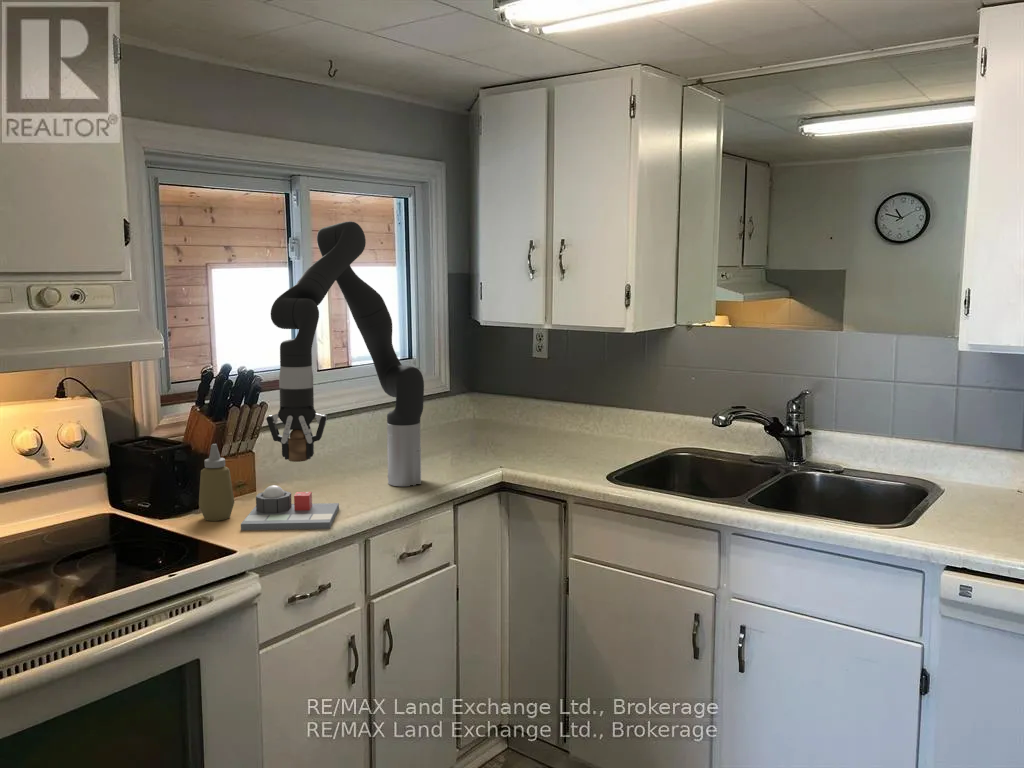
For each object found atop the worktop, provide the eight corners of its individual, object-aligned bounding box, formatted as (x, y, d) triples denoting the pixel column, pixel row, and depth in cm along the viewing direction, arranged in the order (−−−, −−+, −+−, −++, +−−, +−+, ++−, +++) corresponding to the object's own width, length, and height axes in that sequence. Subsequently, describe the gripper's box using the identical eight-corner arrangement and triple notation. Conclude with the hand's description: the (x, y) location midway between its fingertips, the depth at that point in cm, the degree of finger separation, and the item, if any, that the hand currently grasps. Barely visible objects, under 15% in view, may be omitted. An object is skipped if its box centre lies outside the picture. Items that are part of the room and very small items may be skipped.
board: (338, 508, 202) (338, 489, 202) (329, 528, 187) (329, 507, 186) (257, 510, 201) (256, 490, 200) (241, 530, 185) (240, 509, 184)
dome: (286, 502, 200) (285, 482, 199) (282, 508, 195) (281, 487, 194) (265, 502, 199) (265, 483, 199) (261, 508, 194) (260, 488, 194)
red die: (312, 506, 200) (311, 491, 199) (309, 510, 196) (309, 495, 196) (297, 506, 199) (296, 491, 199) (294, 510, 196) (294, 495, 195)
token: (309, 457, 190) (308, 426, 189) (306, 461, 186) (305, 429, 185) (290, 457, 190) (289, 426, 189) (286, 461, 186) (286, 430, 185)
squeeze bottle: (204, 525, 189) (201, 449, 186) (195, 516, 195) (191, 443, 193) (239, 519, 193) (236, 445, 191) (229, 511, 200) (226, 439, 198)
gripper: (330, 383, 190) (331, 455, 192) (267, 383, 189) (269, 455, 191) (326, 387, 183) (327, 462, 185) (261, 387, 181) (263, 462, 184)
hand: (298, 458), depth 188 cm, fingers closed on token, 4 cm apart
